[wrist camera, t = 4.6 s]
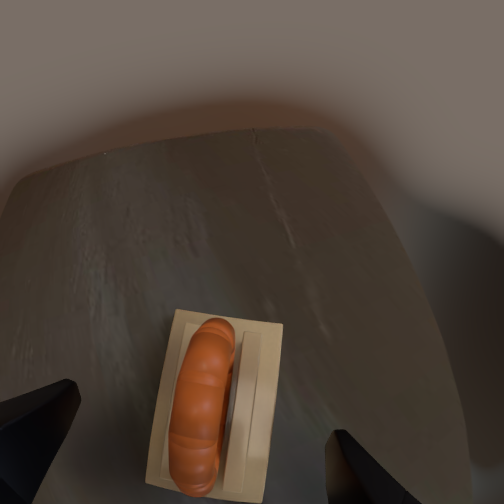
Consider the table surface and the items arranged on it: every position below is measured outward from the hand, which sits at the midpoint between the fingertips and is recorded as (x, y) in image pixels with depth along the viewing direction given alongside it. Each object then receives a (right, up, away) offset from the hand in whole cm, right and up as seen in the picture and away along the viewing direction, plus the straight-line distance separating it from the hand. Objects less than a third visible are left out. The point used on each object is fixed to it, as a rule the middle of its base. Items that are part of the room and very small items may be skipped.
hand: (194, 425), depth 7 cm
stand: (0, -4, +7) cm, 9 cm away
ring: (0, -4, +7) cm, 8 cm away
